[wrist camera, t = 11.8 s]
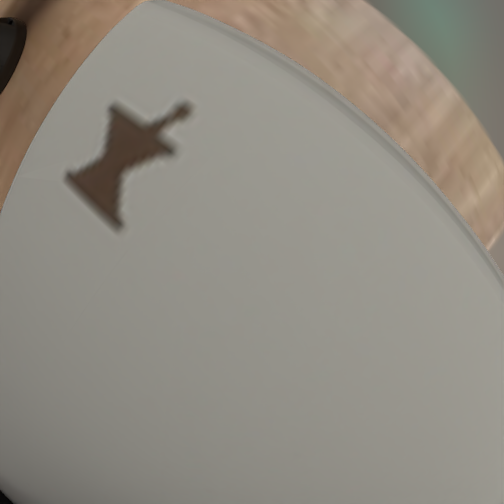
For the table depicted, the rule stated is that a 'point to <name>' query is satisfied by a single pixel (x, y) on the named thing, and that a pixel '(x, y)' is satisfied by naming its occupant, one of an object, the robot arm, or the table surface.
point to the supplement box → (238, 292)
